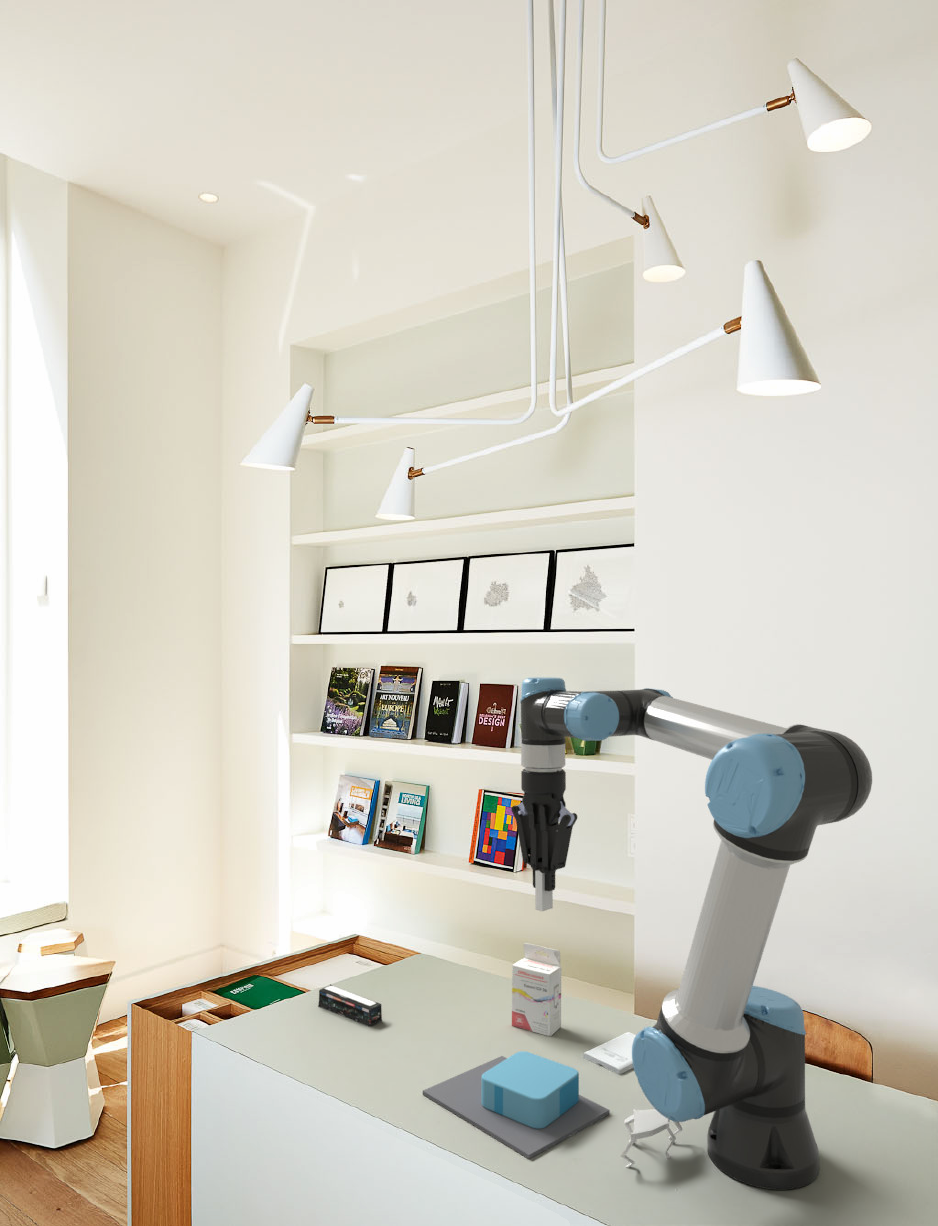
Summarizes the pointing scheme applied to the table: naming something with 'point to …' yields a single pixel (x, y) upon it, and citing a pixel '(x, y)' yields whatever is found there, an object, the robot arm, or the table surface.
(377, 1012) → the bus
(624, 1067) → the external hard drive
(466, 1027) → the table surface
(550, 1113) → the data package
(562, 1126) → the mat
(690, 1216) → the table surface
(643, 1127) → the origami figure
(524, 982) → the ink cartridge box
